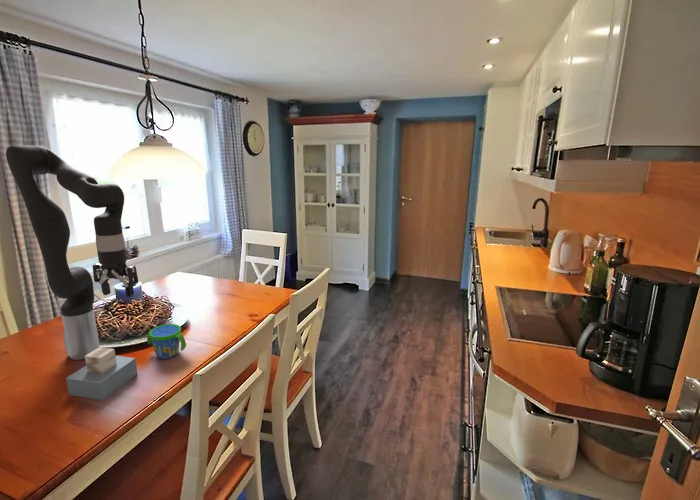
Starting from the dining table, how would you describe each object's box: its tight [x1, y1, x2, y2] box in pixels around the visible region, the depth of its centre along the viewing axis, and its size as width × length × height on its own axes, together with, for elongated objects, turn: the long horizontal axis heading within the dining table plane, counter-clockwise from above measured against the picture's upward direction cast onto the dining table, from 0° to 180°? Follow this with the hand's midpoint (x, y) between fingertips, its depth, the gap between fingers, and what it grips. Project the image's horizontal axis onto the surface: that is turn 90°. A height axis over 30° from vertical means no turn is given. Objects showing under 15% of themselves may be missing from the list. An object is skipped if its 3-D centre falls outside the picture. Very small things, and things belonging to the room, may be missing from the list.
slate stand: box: [65, 355, 138, 401], centre depth 113 cm, size 12×14×6 cm
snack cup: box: [146, 323, 187, 360], centre depth 130 cm, size 16×10×10 cm
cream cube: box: [84, 346, 117, 374], centre depth 111 cm, size 6×6×6 cm
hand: (118, 295), depth 114 cm, fingers open, 8 cm apart
